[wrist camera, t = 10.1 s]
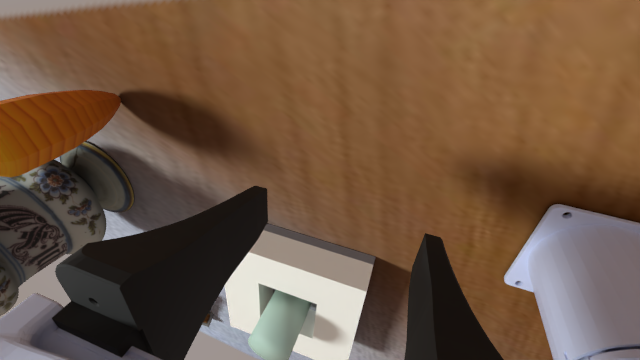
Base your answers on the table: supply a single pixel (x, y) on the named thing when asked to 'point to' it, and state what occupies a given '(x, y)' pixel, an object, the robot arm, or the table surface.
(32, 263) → the apothecary jar
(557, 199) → the table surface
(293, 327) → the peg
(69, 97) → the carrot
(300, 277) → the socket block
